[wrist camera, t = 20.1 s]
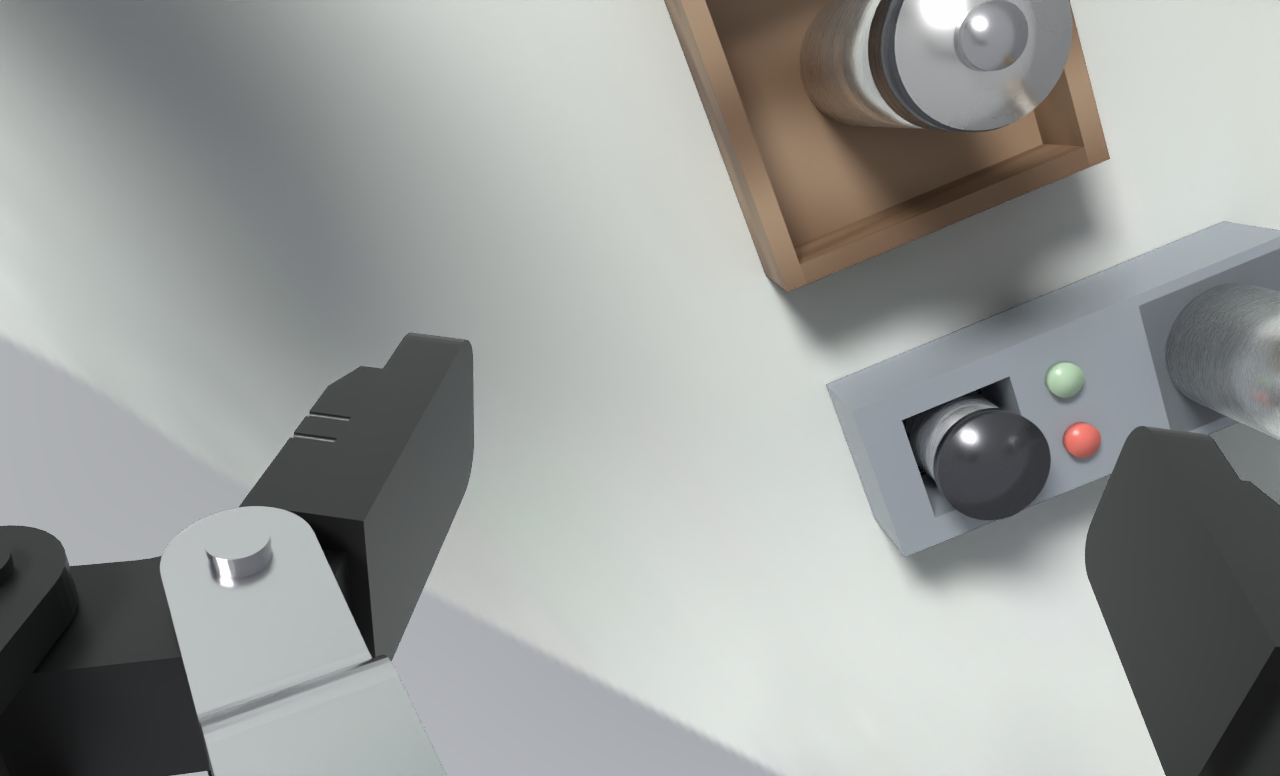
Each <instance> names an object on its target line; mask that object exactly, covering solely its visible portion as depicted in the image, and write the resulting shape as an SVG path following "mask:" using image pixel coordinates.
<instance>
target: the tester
mask: <svg viewBox="0 0 1280 776" xmlns="http://www.w3.org/2000/svg"><path fill="white" fill-rule="evenodd" d="M1227 283H1246V284H1251V285H1255V286H1259V287H1263V288H1267V289H1271V290H1275V291H1279V292H1280V230H1274V229H1268V228H1262V227H1256V226H1249V225H1243V224H1237V223H1231V222H1225V221H1223V222H1221V223H1218V224H1216V225H1214V226H1211V227H1209V228H1206V229H1204V230H1201V231H1199V232H1197V233H1194V234H1192V235H1189V236H1187V237H1184V238H1182V239H1179V240H1177V241H1175V242H1172V243H1170V244H1167V245H1165V246H1162V247H1160V248H1158V249H1155V250H1153V251H1150V252H1148V253H1145V254H1143V255H1141V256H1138V257H1136V258H1133V259H1131V260H1128V261H1126V262H1123V263H1121V264H1119V265H1116V266H1114V267H1111V268H1109V269H1106V270H1104V271H1102V272H1099V273H1097V274H1094V275H1092V276H1089V277H1087V278H1085V279H1082V280H1080V281H1077V282H1075V283H1072V284H1070V285H1067V286H1065V287H1063V288H1060V289H1058V290H1055V291H1053V292H1050V293H1048V294H1046V295H1043V296H1041V297H1038V298H1036V299H1033V300H1031V301H1028V302H1026V303H1024V304H1021V305H1019V306H1016V307H1014V308H1011V309H1009V310H1007V311H1004V312H1002V313H999V314H997V315H994V316H992V317H990V318H987V319H985V320H982V321H980V322H977V323H975V324H972V325H970V326H968V327H965V328H963V329H960V330H958V331H955V332H953V333H951V334H948V335H946V336H943V337H941V338H938V339H936V340H934V341H931V342H929V343H926V344H924V345H921V346H919V347H916V348H914V349H912V350H909V351H907V352H904V353H902V354H899V355H897V356H895V357H892V358H890V359H887V360H885V361H882V362H880V363H877V364H875V365H873V366H870V367H868V368H865V369H863V370H860V371H858V372H856V373H853V374H851V375H848V376H846V377H843V378H841V379H839V380H836V381H834V382H831V383H829V384H826V386H827V389H828V391H829V394H830V397H831V400H832V402H833V405H834V408H835V411H836V413H837V416H838V419H839V422H840V424H841V427H842V430H843V433H844V435H845V438H846V441H847V444H848V446H849V449H850V452H851V455H852V457H853V460H854V463H855V466H856V468H857V471H858V474H859V477H860V479H861V482H862V485H863V488H864V490H865V493H866V496H867V499H868V501H869V504H870V507H871V510H872V512H873V515H874V518H875V520H876V521H877V522H878V524H879V525H880V526H881V527H882V529H883V530H884V531H885V533H886V534H887V535H888V536H889V538H890V539H891V540H892V542H893V543H894V544H895V545H896V547H897V548H898V549H899V551H900V552H901V553H902V554H903V556H904V557H906V556H909V555H911V554H914V553H916V552H919V551H921V550H924V549H926V548H929V547H931V546H934V545H936V544H939V543H941V542H944V541H946V540H949V539H951V538H953V537H956V536H958V535H961V534H963V533H966V532H968V531H971V530H973V529H976V528H978V527H981V526H983V525H986V524H988V523H991V522H993V521H996V520H990V521H989V520H978V519H974V518H971V517H968V516H966V515H964V514H962V513H960V512H959V511H957V510H956V509H955V508H954V507H953V506H952V505H951V504H950V503H949V502H948V501H947V500H946V499H945V498H944V497H943V495H942V494H941V493H940V491H939V489H938V487H937V485H936V482H935V480H934V479H933V478H932V477H931V476H930V475H929V474H928V473H926V474H923V475H920V472H919V469H918V466H917V463H916V460H915V457H914V454H913V452H912V449H911V446H910V443H909V440H908V437H907V434H906V431H905V428H904V425H903V422H902V420H904V419H906V418H909V417H911V416H913V415H916V414H918V413H921V412H923V411H926V410H928V409H931V408H933V407H935V406H938V405H940V404H943V403H945V402H948V401H950V400H953V399H955V398H958V397H960V396H962V395H965V394H967V393H970V392H972V391H975V390H977V389H981V392H982V395H983V397H984V398H985V399H987V400H988V401H990V402H991V403H993V404H994V405H996V406H997V407H999V408H1003V409H1008V410H1011V411H1014V412H1016V413H1018V414H1020V415H1022V416H1023V417H1025V418H1026V419H1028V420H1029V421H1031V422H1032V423H1034V424H1035V425H1036V426H1037V427H1038V428H1039V429H1040V430H1041V432H1042V433H1043V434H1044V436H1045V438H1046V440H1047V442H1048V445H1049V449H1050V455H1051V466H1050V471H1049V475H1048V478H1047V481H1046V483H1045V485H1044V487H1043V489H1042V490H1041V492H1040V494H1039V495H1038V496H1037V497H1036V499H1035V500H1034V501H1033V502H1032V503H1031V504H1030V505H1028V506H1027V507H1026V508H1028V507H1030V506H1033V505H1035V504H1038V503H1040V502H1043V501H1045V500H1048V499H1050V498H1052V497H1055V496H1057V495H1060V494H1062V493H1065V492H1067V491H1070V490H1072V489H1075V488H1077V487H1080V486H1082V485H1085V484H1087V483H1090V482H1092V481H1095V480H1097V479H1100V478H1102V477H1104V476H1107V475H1109V474H1112V471H1113V469H1114V467H1115V464H1116V462H1117V459H1118V457H1119V455H1120V452H1121V450H1122V447H1123V445H1124V443H1125V441H1126V439H1127V437H1128V436H1129V434H1130V433H1131V432H1132V431H1133V430H1134V429H1135V428H1136V427H1139V426H1147V427H1155V428H1163V429H1171V430H1178V431H1186V432H1194V433H1201V434H1206V435H1208V434H1211V433H1213V432H1216V431H1218V430H1221V429H1223V428H1226V427H1228V426H1231V425H1233V424H1236V423H1238V421H1236V420H1234V419H1232V418H1229V417H1227V416H1225V415H1223V414H1221V413H1218V412H1216V411H1214V410H1212V409H1209V408H1207V407H1205V406H1203V405H1201V404H1198V403H1196V402H1194V401H1192V400H1190V399H1188V398H1187V397H1185V396H1184V395H1183V394H1181V393H1180V392H1179V391H1178V390H1177V389H1176V387H1175V386H1174V384H1173V383H1172V381H1171V379H1170V377H1169V375H1168V372H1167V368H1166V363H1165V348H1166V342H1167V338H1168V335H1169V332H1170V329H1171V327H1172V325H1173V323H1174V321H1175V320H1176V318H1177V316H1178V315H1179V313H1180V312H1181V311H1182V310H1183V308H1184V307H1185V306H1186V305H1187V304H1188V303H1189V302H1190V301H1192V300H1193V299H1194V298H1195V297H1197V296H1198V295H1200V294H1201V293H1203V292H1204V291H1206V290H1208V289H1210V288H1213V287H1216V286H1219V285H1222V284H1227ZM1024 509H1025V508H1024Z"/></svg>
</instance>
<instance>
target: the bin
mask: <svg viewBox="0 0 1280 776" xmlns="http://www.w3.org/2000/svg"><path fill="white" fill-rule="evenodd" d="M664 1H665V4H666V7H667V9H668V12H669V15H670V18H671V20H672V23H673V26H674V28H675V31H676V34H677V36H678V39H679V42H680V45H681V47H682V50H683V53H684V55H685V58H686V61H687V64H688V66H689V69H690V72H691V74H692V77H693V80H694V82H695V85H696V88H697V91H698V93H699V96H700V99H701V101H702V104H703V107H704V109H705V112H706V115H707V118H708V120H709V123H710V126H711V128H712V131H713V134H714V137H715V139H716V142H717V145H718V147H719V150H720V153H721V155H722V158H723V161H724V164H725V166H726V169H727V172H728V174H729V177H730V180H731V182H732V185H733V188H734V191H735V193H736V196H737V199H738V201H739V204H740V207H741V210H742V212H743V215H744V218H745V220H746V223H747V226H748V228H749V231H750V234H751V237H752V239H753V242H754V245H755V247H756V250H757V253H758V255H759V258H760V261H761V264H762V266H763V269H764V272H765V274H766V276H767V277H768V278H770V279H771V280H772V281H774V282H775V283H776V284H777V285H779V286H780V287H781V288H782V289H784V290H785V291H786V292H789V291H791V290H794V289H796V288H799V287H801V286H804V285H806V284H808V283H811V282H813V281H816V280H818V279H820V278H823V277H825V276H828V275H830V274H833V273H835V272H837V271H840V270H842V269H845V268H847V267H849V266H852V265H854V264H857V263H859V262H862V261H864V260H866V259H869V258H871V257H874V256H876V255H878V254H881V253H883V252H886V251H888V250H891V249H893V248H895V247H898V246H900V245H903V244H905V243H907V242H910V241H912V240H915V239H917V238H919V237H922V236H924V235H927V234H929V233H932V232H934V231H936V230H939V229H941V228H944V227H946V226H948V225H951V224H953V223H956V222H958V221H961V220H963V219H965V218H968V217H970V216H973V215H975V214H977V213H980V212H982V211H985V210H987V209H990V208H992V207H994V206H997V205H999V204H1002V203H1004V202H1006V201H1009V200H1011V199H1014V198H1016V197H1019V196H1021V195H1023V194H1026V193H1028V192H1031V191H1033V190H1035V189H1038V188H1040V187H1043V186H1045V185H1047V184H1050V183H1052V182H1055V181H1057V180H1060V179H1062V178H1064V177H1067V176H1069V175H1072V174H1074V173H1076V172H1079V171H1081V170H1084V169H1086V168H1089V167H1091V166H1093V165H1096V164H1098V163H1101V162H1103V161H1105V160H1108V159H1110V157H1109V153H1108V149H1107V145H1106V141H1105V137H1104V133H1103V130H1102V126H1101V122H1100V118H1099V114H1098V110H1097V106H1096V102H1095V98H1094V94H1093V90H1092V86H1091V83H1090V79H1089V75H1088V71H1087V67H1086V63H1085V59H1084V55H1083V51H1082V47H1081V43H1080V39H1079V36H1078V32H1077V28H1076V24H1075V20H1074V16H1073V12H1072V8H1071V12H1072V24H1073V28H1072V41H1071V47H1070V52H1069V55H1068V59H1067V62H1066V65H1065V67H1064V69H1063V72H1062V74H1061V76H1060V78H1059V79H1058V81H1057V83H1056V85H1055V86H1054V87H1053V89H1052V90H1051V92H1050V93H1049V94H1048V96H1047V97H1046V98H1045V99H1044V100H1043V101H1042V102H1041V103H1040V104H1039V105H1038V106H1037V107H1036V108H1034V109H1033V110H1032V111H1031V112H1030V113H1028V114H1027V115H1025V116H1024V117H1022V118H1021V119H1019V120H1017V121H1015V122H1013V123H1011V124H1009V125H1007V126H1004V127H1002V128H999V129H996V130H991V131H986V132H949V131H933V130H928V129H920V128H892V127H864V126H850V125H845V124H842V123H839V122H836V121H834V120H832V119H830V118H829V117H827V116H826V115H824V114H823V113H822V112H821V111H820V110H819V109H818V108H817V107H816V106H815V105H814V104H813V102H812V101H811V100H810V98H809V96H808V94H807V93H806V90H805V88H804V85H803V82H802V78H801V73H800V51H801V46H802V42H803V39H804V36H805V34H806V31H807V29H808V27H809V26H810V24H811V22H812V21H813V19H814V18H815V17H816V15H817V14H818V13H819V12H820V11H821V10H822V9H823V8H824V7H825V6H826V5H828V4H829V3H830V2H832V1H833V0H664ZM1069 2H1070V0H1069ZM1070 7H1071V4H1070Z"/></svg>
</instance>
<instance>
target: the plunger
mask: <svg viewBox="0 0 1280 776" xmlns="http://www.w3.org/2000/svg"><path fill="white" fill-rule="evenodd" d="M902 422H903V425H904V428H905V431H906V434H907V437H908V440H909V443H910V446H911V449H912V452H913V454H914V457H915V460H916V463H917V464H918V465H919V466H921V467H922V468H923V469H924V470H925V471H926V472H927V473H928V474H929V475H930V476H931V477H932V478H933V479H934V480H935V482H936V485H937V487H938V489H939V491H940V493H941V494H942V495H943V497H944V498H945V499H946V500H947V501H948V502H949V503H950V504H951V505H952V506H953V507H954V508H955V509H956V510H957V511H959V512H960V513H962V514H964V515H966V516H968V517H971V518H974V519H978V520H989V521H990V520H999V519H1003V518H1006V517H1009V516H1012V515H1014V514H1016V513H1018V512H1020V511H1021V510H1023V509H1024V508H1026V507H1027V506H1028V505H1030V504H1031V503H1032V502H1033V501H1034V500H1035V499H1036V497H1037V496H1038V495H1039V494H1040V492H1041V490H1042V489H1043V487H1044V485H1045V483H1046V481H1047V478H1048V475H1049V471H1050V466H1051V455H1050V449H1049V445H1048V442H1047V440H1046V438H1045V436H1044V434H1043V433H1042V432H1041V430H1040V429H1039V428H1038V427H1037V426H1036V425H1035V424H1034V423H1032V422H1031V421H1029V420H1028V419H1026V418H1025V417H1023V416H1022V415H1020V414H1018V413H1016V412H1014V411H1011V410H1008V409H1003V408H999V407H997V406H996V405H994V404H993V403H991V402H990V401H988V400H987V399H985V398H984V397H982V396H981V395H979V394H978V393H976V392H975V391H972V392H970V393H967V394H965V395H962V396H960V397H958V398H955V399H953V400H950V401H948V402H945V403H943V404H940V405H938V406H935V407H933V408H931V409H928V410H926V411H923V412H921V413H918V414H916V415H913V416H911V417H909V418H906V419H904V420H902Z"/></svg>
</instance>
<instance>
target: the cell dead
mask: <svg viewBox="0 0 1280 776" xmlns="http://www.w3.org/2000/svg"><path fill="white" fill-rule="evenodd" d="M1072 28H1073V24H1072V12H1071V7H1070V2H1069V0H833V1H832V2H830V3H829V4H828V5H826V6H825V7H824V8H823V9H822V10H821V11H820V12H819V13H818V14H817V15H816V17H815V18H814V19H813V21H812V22H811V24H810V26H809V27H808V29H807V31H806V34H805V36H804V39H803V42H802V46H801V51H800V73H801V78H802V82H803V85H804V88H805V90H806V93H807V94H808V96H809V98H810V100H811V101H812V102H813V104H814V105H815V106H816V107H817V108H818V109H819V110H820V111H821V112H822V113H823V114H824V115H826V116H827V117H829V118H830V119H832V120H834V121H836V122H839V123H842V124H845V125H850V126H864V127H892V128H920V129H928V130H933V131H949V132H986V131H991V130H996V129H999V128H1002V127H1004V126H1007V125H1009V124H1011V123H1013V122H1015V121H1017V120H1019V119H1021V118H1022V117H1024V116H1025V115H1027V114H1028V113H1030V112H1031V111H1032V110H1033V109H1034V108H1036V107H1037V106H1038V105H1039V104H1040V103H1041V102H1042V101H1043V100H1044V99H1045V98H1046V97H1047V96H1048V94H1049V93H1050V92H1051V90H1052V89H1053V87H1054V86H1055V85H1056V83H1057V81H1058V79H1059V78H1060V76H1061V74H1062V72H1063V69H1064V67H1065V65H1066V62H1067V59H1068V55H1069V52H1070V47H1071V41H1072Z"/></svg>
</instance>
